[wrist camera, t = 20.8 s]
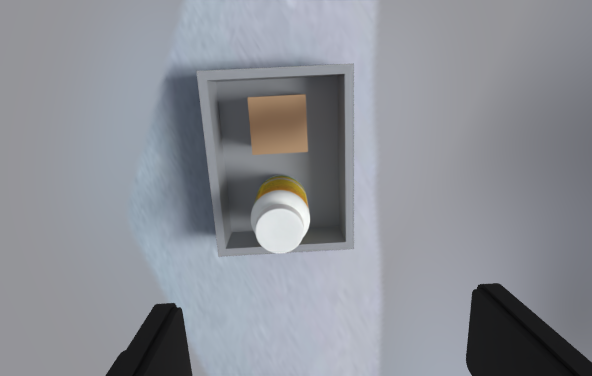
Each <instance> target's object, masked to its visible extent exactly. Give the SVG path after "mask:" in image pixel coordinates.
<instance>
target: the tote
mask: <svg viewBox="0 0 592 376" xmlns="http://www.w3.org/2000/svg"><path fill="white" fill-rule="evenodd" d="M196 73H197V81H198V89H199V98H200V106H201V114H202V123H203V131H204V139H205V148H206V156H207V164H208V173H209V181H210V189H211V198H212V206H213V214H214V223H215V231H216V240H217V248H218V256H219V257H222V256H240V255H257V254H275V253H272V252H269V251H267V250H266V249H264V248H263V247H262V246H261V245H260V244H259V242H258V241H257V238H256V235H255V233H254V231H253V229H252V225H251V212H252V208H253V205H254V202H255V199H256V196H257V193H258V190H259V188H260V186H261V185H262V184H263V183H264V182H265V181H266V180H267V179H269V178H270V177H272V176H276V175H287V176H290V177H293V178H294V179H296V180H297V181H298V182H299V183H300V184H301V185H302V186H303V188H304V190H305V192H306V197H307V202H308V208H309V213H310V224H309V228H308V231H307V232H306V234H305V236H304V237H303V238H302V241H301V242H300V244H299V245H298V246H297V247H296V248H295V249H293V250H292V251H290V252H287V253H292V252H310V251H328V250H345V249H354V64H333V65H312V66H291V67H270V68H249V69H228V70H207V71H196ZM299 94H306V117H307V141H308V152H297V153H279V154H262V155H252V145H251V133H250V122H249V110H248V98H247V97H261V96H280V95H299Z"/></svg>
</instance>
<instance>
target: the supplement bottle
mask: <svg viewBox="0 0 592 376" xmlns="http://www.w3.org/2000/svg"><path fill="white" fill-rule="evenodd" d="M309 224H310V213H309V208H308V202H307V197H306V192H305V190H304V188H303V186H302V185H301V184H300V183H299V182H298V181H297V180H296V179H294V178H293V177H290V176H287V175H276V176H272V177H270V178H269V179H267V180H266V181H265V182H264V183H263V184H262V185H261V186H260V188H259V190H258V193H257V196H256V199H255V202H254V205H253V208H252V212H251V225H252V229H253V231H254V233H255V235H256V238H257V241H258V242H259V244H260V245H261V246H262V247H263V248H264V249H266V250H267V251H269V252H272V253H287V252H290V251H292V250H293V249H295V248H296V247H297V246H298V245H299V244H300V242H301V241H302V238H303V237H304V236H305V234H306V232H307V231H308V228H309Z"/></svg>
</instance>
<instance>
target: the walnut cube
mask: <svg viewBox="0 0 592 376" xmlns="http://www.w3.org/2000/svg"><path fill="white" fill-rule="evenodd" d="M247 98H248V110H249V122H250V133H251V145H252V155H262V154H279V153H297V152H308V141H307V117H306V94H299V95H280V96H261V97H247Z"/></svg>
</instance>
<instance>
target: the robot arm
mask: <svg viewBox="0 0 592 376" xmlns="http://www.w3.org/2000/svg"><path fill="white" fill-rule="evenodd" d="M466 363H467V367H468V370H469V371H470V373H471V375H472V376H592V362H590V361H589V360H588V359H587V358H586V357H585V356H583V355H582V354H581V353H580V352H579V351H578V350H577V349H575V348H574V347H573V346H572V345H571V344H569V343H568V342H567V341H566V340H565V339H564V338H562V337H561V336H560V335H559V334H558V333H557V332H555V331H554V330H553V329H552V328H551V327H550V326H549V325H547V324H546V323H545V322H544V321H542V319H540V318H539V317H538V316H537V315H536V314H535V313H533V312H532V311H531V310H530V309H529V308H527V307H526V306H525V305H524V304H523V303H522V302H520V301H519V300H518V299H517V298H516V297H515V296H513V295H512V294H511V293H510V292H509V291H508V290H506V289H505V288H504V287H503V286H502V285H500V284H498V283H493V284H480V285H478V287H477V289H475V290H473V292H472V300H471V312H470V322H469V333H468V344H467V353H466ZM106 376H192V371H191V364H190V358H189V351H188V344H187V338H186V331H185V325H184V318H183V312H182V309H181V308H180V307H179V308H177V307H176V304H175V303H167V304H156V305H155V306H154V307H153V309H152V310H151V312H150V313H149V315H148V316H147V318H146V320H145V321H144V323H143V324H142V326H141V328H140V329H139V331H138V332H137V334H136V335H135V337H134V339H133V340H132V342H131V343H130V345H129V346H128V348H127V350H125V351H123V352H122V353H121V354H120V355H119V356H118V357H117V359H116V361H115V362H114V364H113V365H112V367H111V368H110V370H109V371H108V373H107V374H106Z"/></svg>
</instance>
